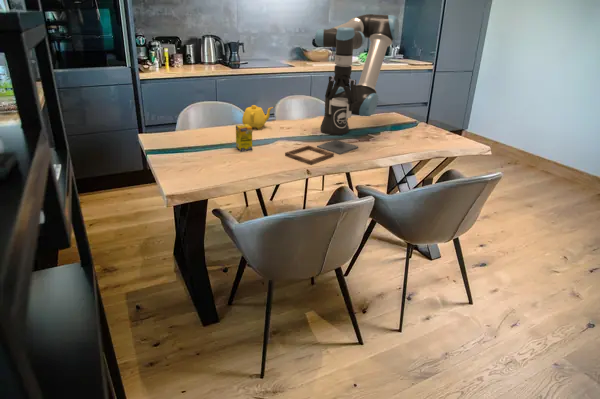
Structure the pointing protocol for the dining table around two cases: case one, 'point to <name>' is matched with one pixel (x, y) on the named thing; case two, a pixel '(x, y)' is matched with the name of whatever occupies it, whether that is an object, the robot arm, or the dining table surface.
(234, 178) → the dining table surface
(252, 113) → the teapot
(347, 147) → the coaster
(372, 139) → the dining table surface
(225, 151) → the dining table surface
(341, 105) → the coffee cup
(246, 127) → the supplement box
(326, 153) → the frame
